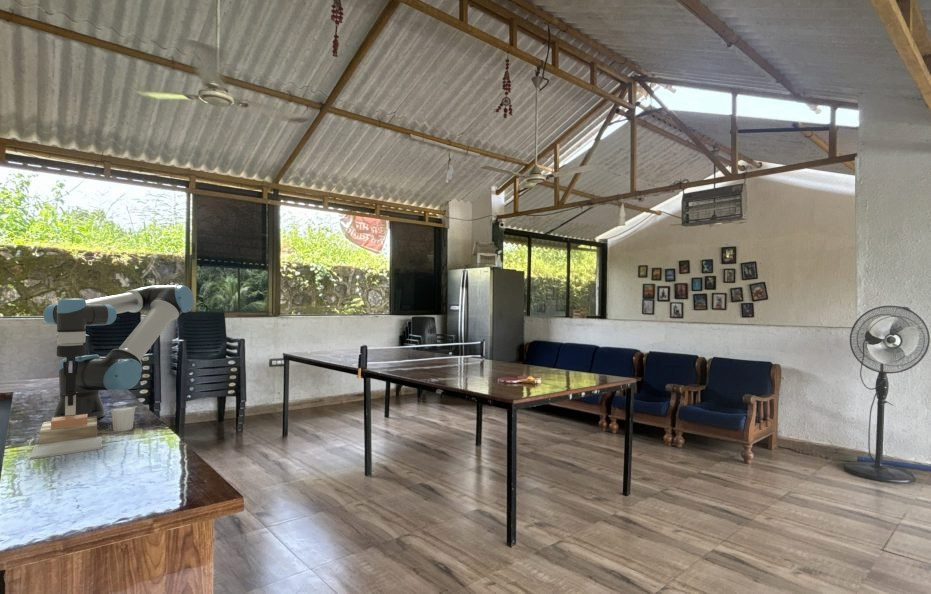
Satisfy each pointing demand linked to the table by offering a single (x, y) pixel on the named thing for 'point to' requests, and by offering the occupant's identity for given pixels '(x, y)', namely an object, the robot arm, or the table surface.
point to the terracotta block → (69, 421)
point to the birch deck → (68, 432)
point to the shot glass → (122, 418)
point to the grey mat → (66, 447)
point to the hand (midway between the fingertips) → (70, 414)
